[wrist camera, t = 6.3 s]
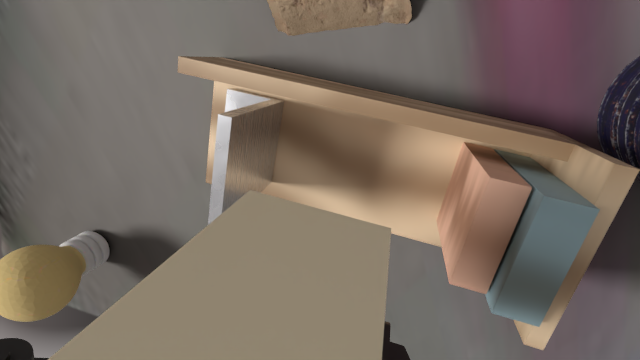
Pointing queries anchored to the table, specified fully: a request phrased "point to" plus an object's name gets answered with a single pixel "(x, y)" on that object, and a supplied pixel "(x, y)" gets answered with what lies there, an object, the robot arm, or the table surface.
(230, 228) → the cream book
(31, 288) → the light bulb
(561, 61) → the table surface
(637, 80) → the storage jar
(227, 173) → the bookend
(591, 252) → the rack
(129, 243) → the table surface
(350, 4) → the clay tablet
